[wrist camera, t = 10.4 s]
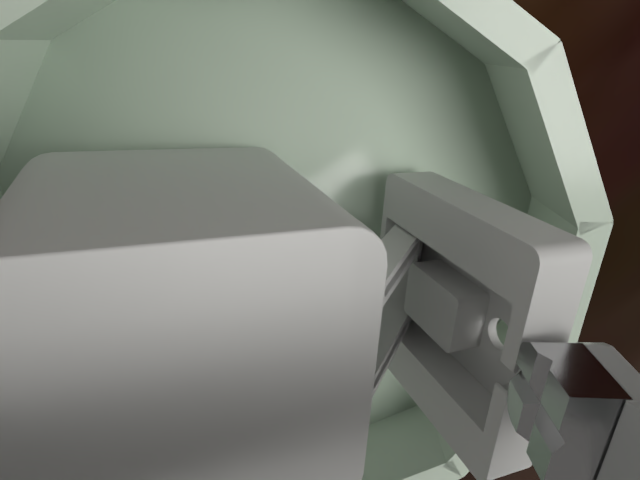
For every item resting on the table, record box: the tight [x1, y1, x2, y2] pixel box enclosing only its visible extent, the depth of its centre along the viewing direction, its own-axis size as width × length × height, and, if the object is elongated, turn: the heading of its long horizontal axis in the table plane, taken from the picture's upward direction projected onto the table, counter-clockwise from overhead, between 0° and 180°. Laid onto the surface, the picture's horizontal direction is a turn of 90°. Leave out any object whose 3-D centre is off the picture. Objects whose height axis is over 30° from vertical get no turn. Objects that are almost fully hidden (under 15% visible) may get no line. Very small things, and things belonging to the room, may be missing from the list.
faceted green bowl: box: [0, 0, 613, 480], centre depth 13 cm, size 17×17×3 cm
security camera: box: [0, 147, 593, 480], centre depth 11 cm, size 6×7×10 cm
